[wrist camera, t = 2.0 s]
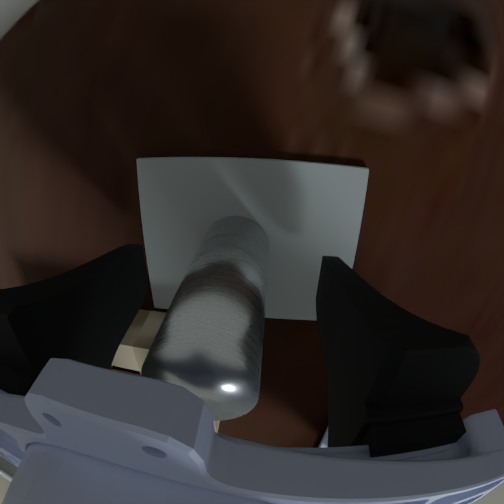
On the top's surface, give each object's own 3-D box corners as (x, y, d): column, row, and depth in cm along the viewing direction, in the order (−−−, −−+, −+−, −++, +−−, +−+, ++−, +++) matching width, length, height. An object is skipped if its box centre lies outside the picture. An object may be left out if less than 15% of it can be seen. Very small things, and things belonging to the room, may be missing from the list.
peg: (271, 217, 13) (261, 354, 6) (267, 276, 15) (256, 425, 8) (202, 213, 14) (129, 338, 6) (205, 272, 15) (153, 411, 8)
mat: (367, 167, 12) (369, 169, 12) (339, 317, 16) (340, 321, 16) (138, 157, 13) (136, 159, 13) (156, 304, 17) (154, 307, 16)
